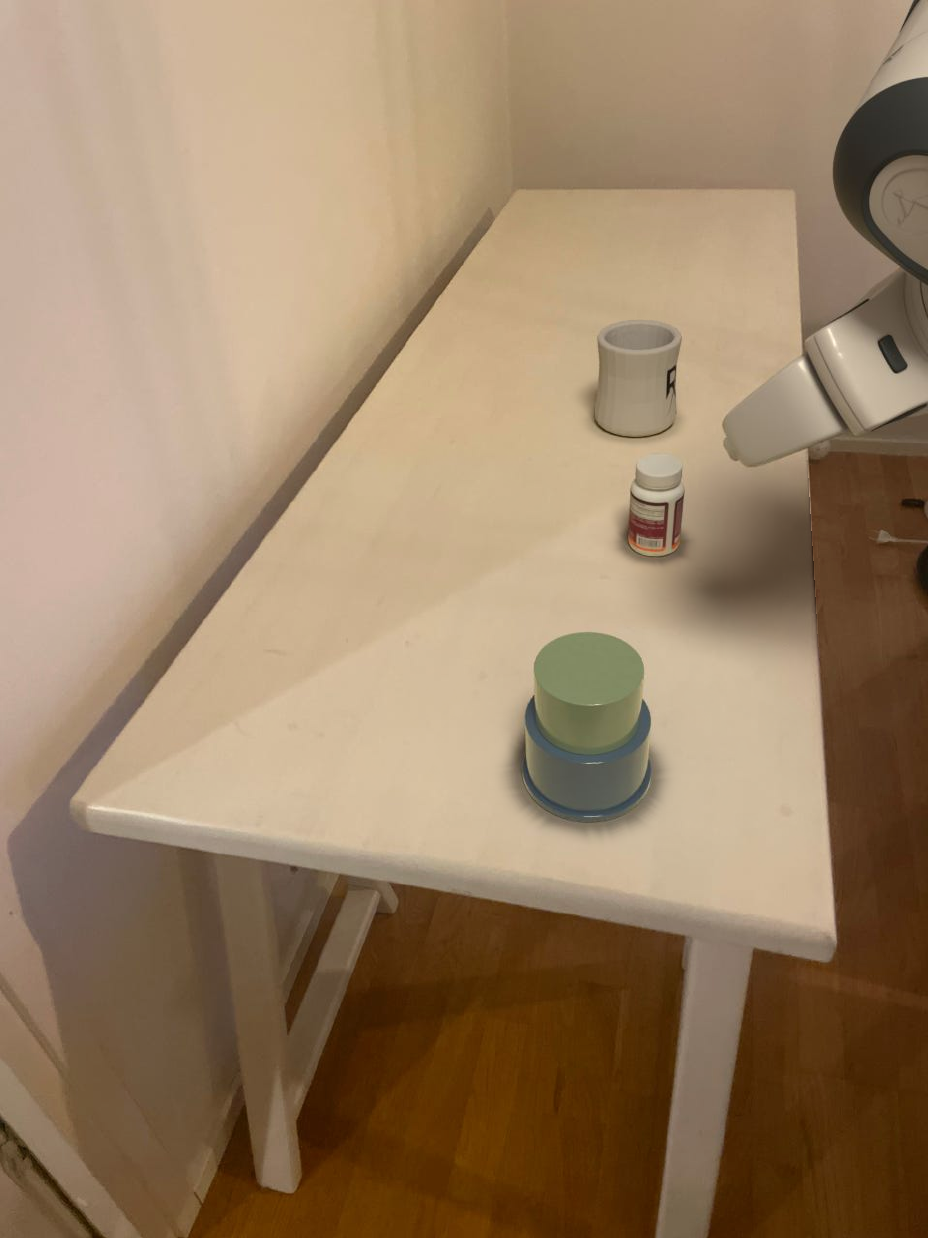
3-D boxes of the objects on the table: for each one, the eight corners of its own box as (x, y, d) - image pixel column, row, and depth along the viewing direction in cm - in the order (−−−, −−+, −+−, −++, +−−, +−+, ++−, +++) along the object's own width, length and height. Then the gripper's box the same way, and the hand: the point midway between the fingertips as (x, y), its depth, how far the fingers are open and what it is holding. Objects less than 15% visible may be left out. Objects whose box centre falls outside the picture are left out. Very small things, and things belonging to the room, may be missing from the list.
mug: (674, 441, 102) (681, 353, 95) (590, 438, 104) (592, 351, 97) (677, 390, 111) (684, 307, 105) (600, 388, 113) (602, 306, 107)
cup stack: (662, 740, 68) (672, 635, 62) (635, 836, 62) (644, 729, 55) (542, 715, 71) (540, 612, 65) (505, 805, 64) (499, 700, 58)
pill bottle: (659, 523, 90) (665, 445, 84) (690, 548, 86) (698, 468, 81) (617, 538, 88) (621, 459, 83) (646, 563, 85) (652, 483, 80)
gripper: (1005, 241, 60) (844, 344, 73) (802, 336, 51) (658, 435, 64) (1052, 327, 60) (883, 415, 72) (857, 438, 51) (703, 516, 64)
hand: (777, 425), depth 68 cm, fingers open, 8 cm apart
